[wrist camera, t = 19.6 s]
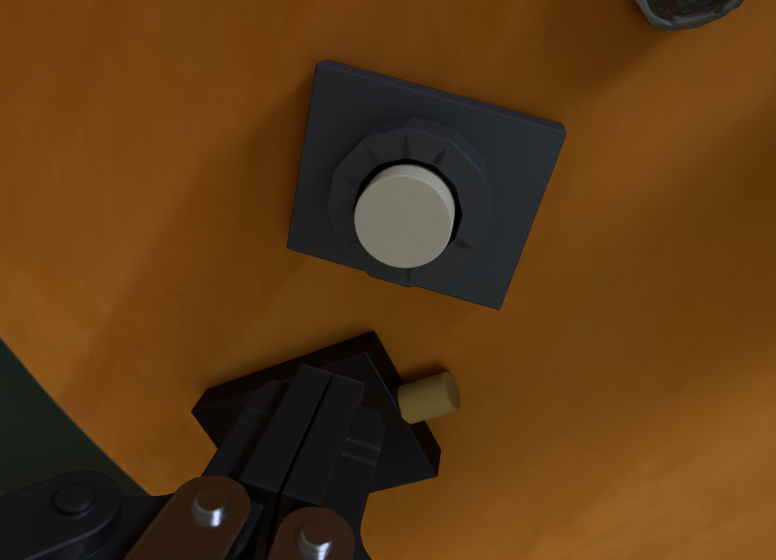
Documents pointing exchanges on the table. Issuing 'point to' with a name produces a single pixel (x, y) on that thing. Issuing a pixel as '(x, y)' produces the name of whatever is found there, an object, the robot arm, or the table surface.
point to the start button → (405, 216)
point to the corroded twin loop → (685, 12)
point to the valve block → (381, 392)
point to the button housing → (435, 152)
